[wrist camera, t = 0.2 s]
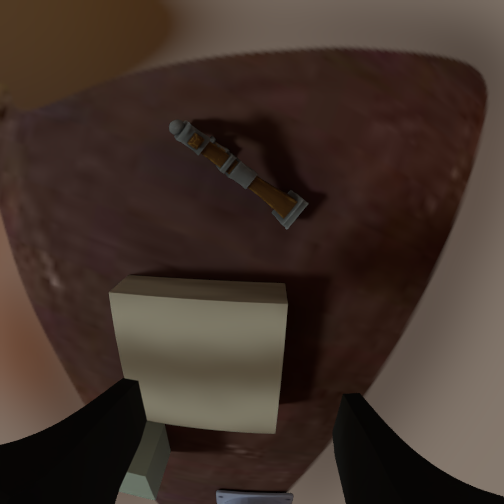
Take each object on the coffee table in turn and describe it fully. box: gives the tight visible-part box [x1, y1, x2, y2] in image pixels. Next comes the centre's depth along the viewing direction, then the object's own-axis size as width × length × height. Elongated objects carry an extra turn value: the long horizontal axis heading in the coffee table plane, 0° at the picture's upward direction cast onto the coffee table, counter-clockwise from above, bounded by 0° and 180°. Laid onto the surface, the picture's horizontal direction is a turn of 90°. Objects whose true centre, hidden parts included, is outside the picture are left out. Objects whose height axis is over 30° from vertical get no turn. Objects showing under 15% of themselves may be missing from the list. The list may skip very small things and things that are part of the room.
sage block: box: [119, 421, 171, 500], centre depth 21 cm, size 4×4×6 cm
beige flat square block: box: [109, 275, 288, 434], centre depth 19 cm, size 10×10×3 cm
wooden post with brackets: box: [169, 120, 308, 229], centre depth 16 cm, size 2×8×4 cm, turn 52°
